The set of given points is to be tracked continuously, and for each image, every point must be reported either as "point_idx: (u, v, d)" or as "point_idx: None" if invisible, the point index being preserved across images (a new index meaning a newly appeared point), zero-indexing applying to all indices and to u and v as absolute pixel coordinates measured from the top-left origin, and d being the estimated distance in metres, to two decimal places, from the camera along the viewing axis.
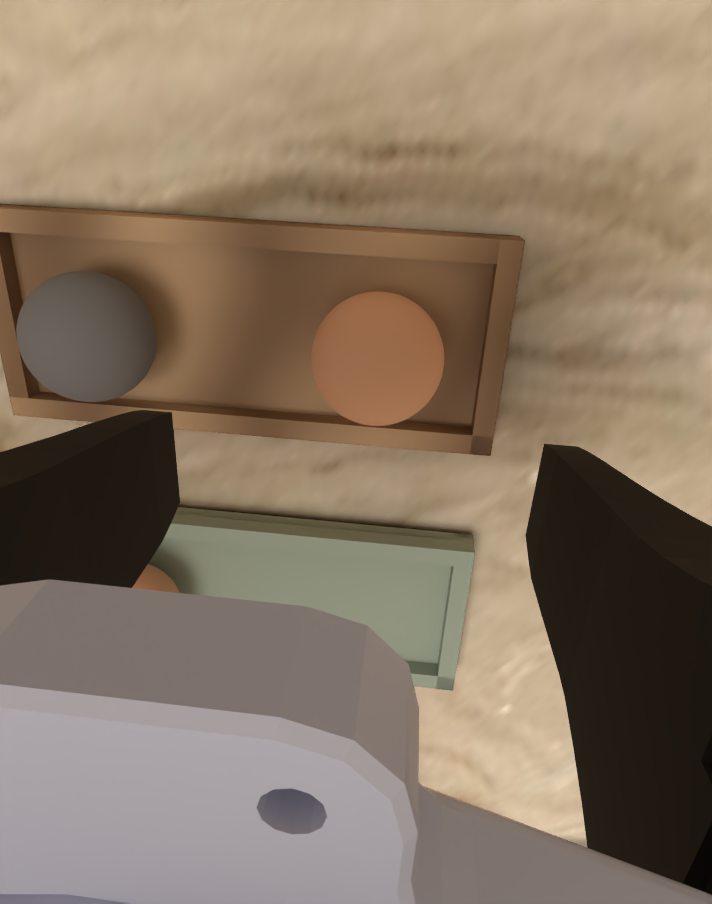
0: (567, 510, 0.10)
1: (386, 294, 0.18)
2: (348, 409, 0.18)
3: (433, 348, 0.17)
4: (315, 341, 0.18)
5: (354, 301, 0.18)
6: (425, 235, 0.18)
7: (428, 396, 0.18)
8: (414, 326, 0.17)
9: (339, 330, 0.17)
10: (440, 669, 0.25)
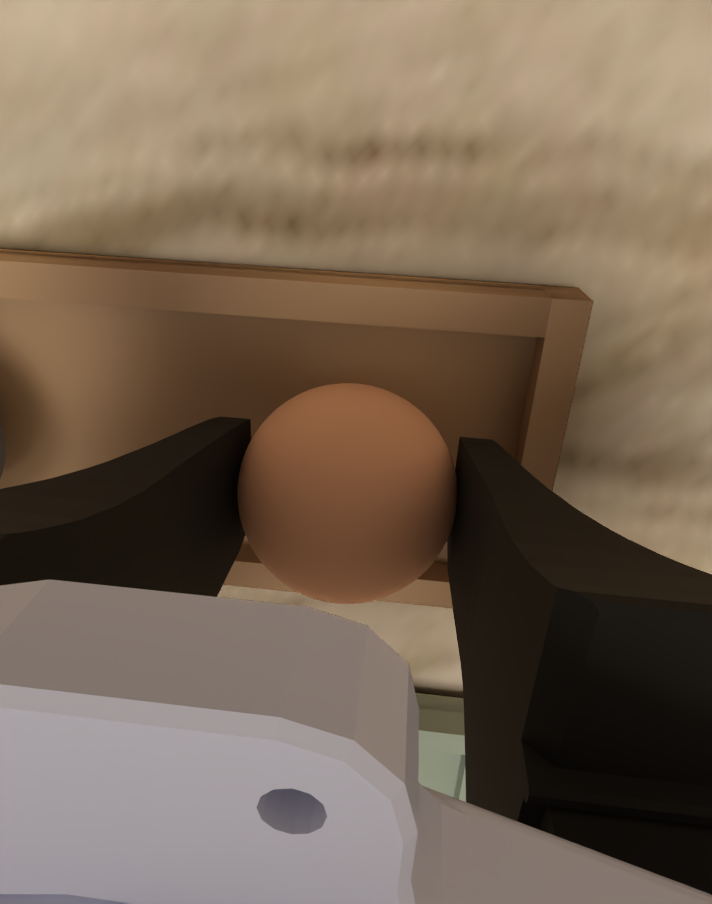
0: (468, 501, 0.10)
1: (360, 393, 0.10)
2: (296, 587, 0.11)
3: (440, 489, 0.10)
4: (242, 469, 0.11)
5: (306, 406, 0.10)
6: (426, 290, 0.11)
7: (431, 562, 0.11)
8: (406, 455, 0.10)
9: (277, 461, 0.10)
10: None
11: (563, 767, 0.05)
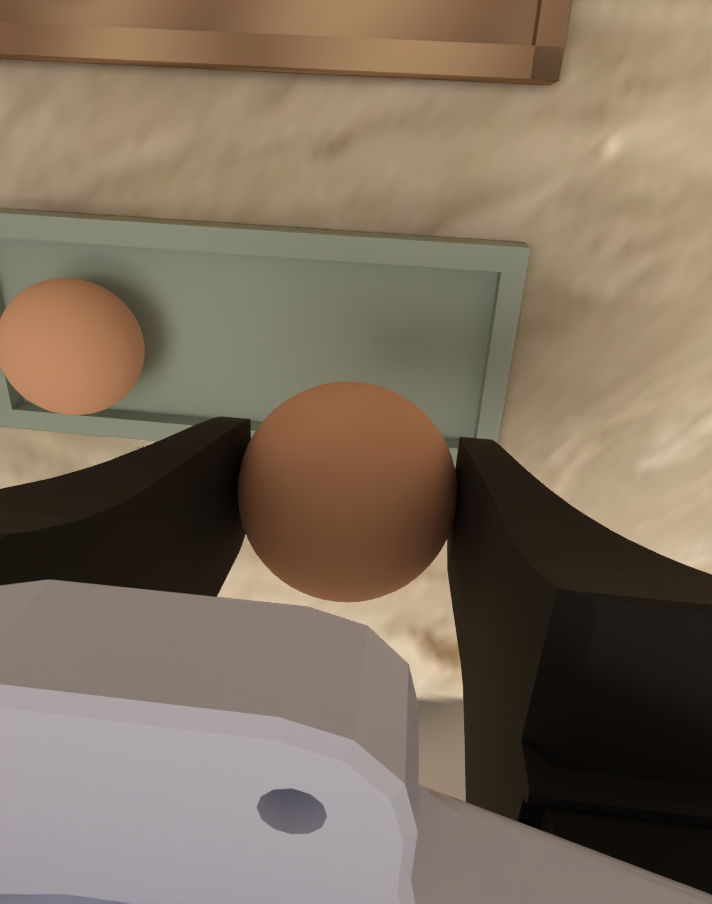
0: (468, 501, 0.10)
1: (359, 392, 0.10)
2: (295, 585, 0.11)
3: (439, 487, 0.10)
4: (242, 467, 0.11)
5: (305, 405, 0.10)
6: None
7: (431, 561, 0.11)
8: (405, 453, 0.10)
9: (276, 460, 0.10)
10: None
11: (563, 767, 0.05)
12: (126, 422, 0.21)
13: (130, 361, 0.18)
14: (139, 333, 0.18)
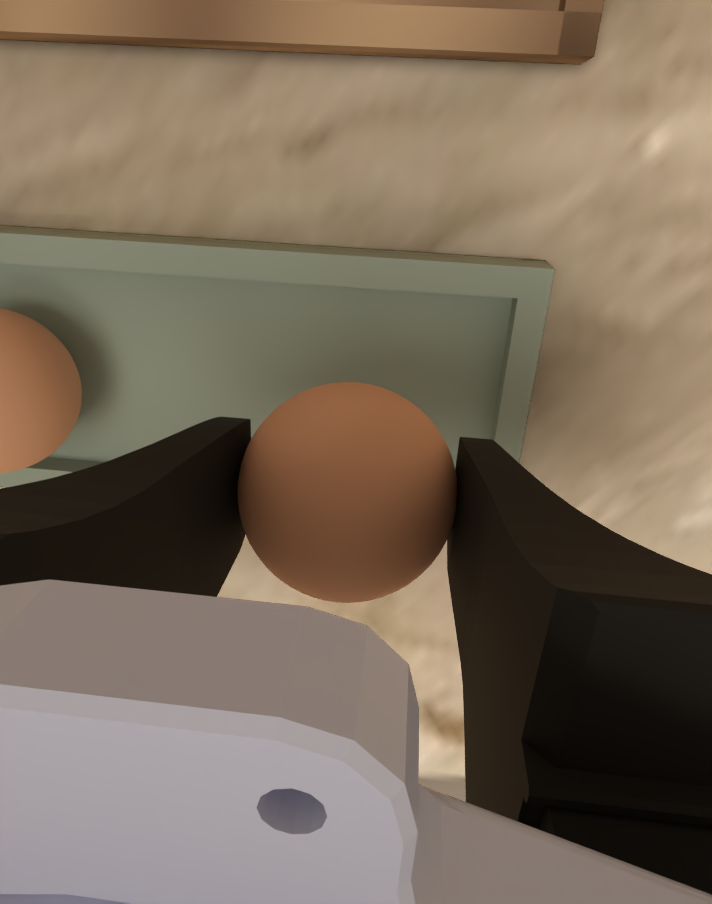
0: (468, 501, 0.10)
1: (360, 392, 0.10)
2: (294, 586, 0.11)
3: (440, 488, 0.10)
4: (242, 468, 0.11)
5: (305, 405, 0.10)
6: None
7: (431, 561, 0.11)
8: (405, 454, 0.10)
9: (276, 460, 0.10)
10: None
11: (563, 767, 0.05)
12: None
13: (59, 409, 0.14)
14: (72, 373, 0.15)
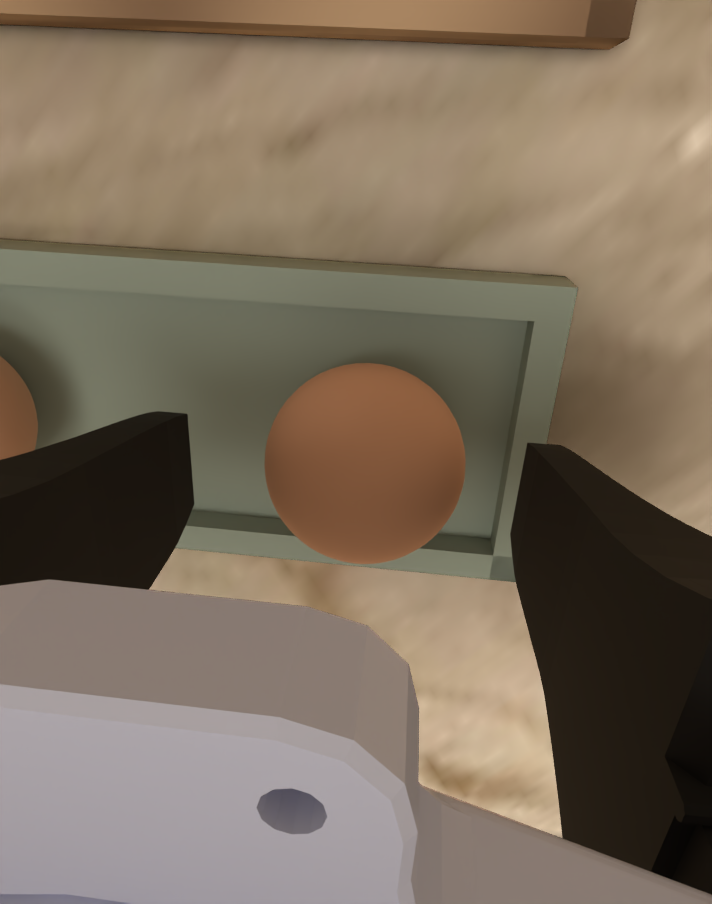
0: (547, 509, 0.10)
1: (378, 371, 0.11)
2: (328, 550, 0.12)
3: (455, 452, 0.11)
4: (271, 446, 0.12)
5: (331, 384, 0.11)
6: None
7: (447, 520, 0.12)
8: (427, 423, 0.11)
9: (311, 435, 0.11)
10: (498, 542, 0.14)
11: None
12: None
13: (7, 447, 0.13)
14: (24, 404, 0.13)
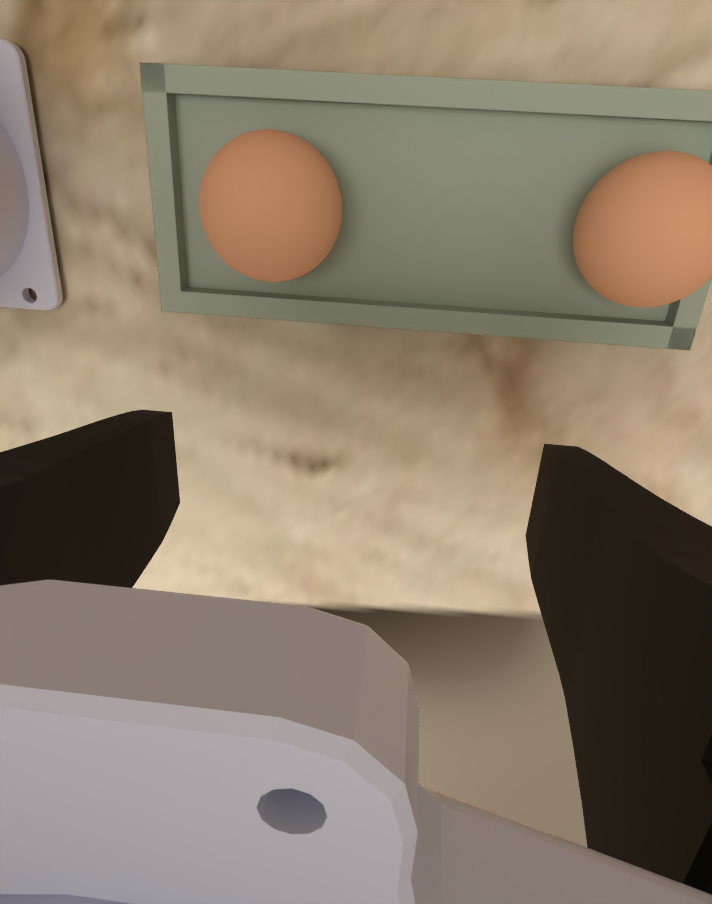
0: (566, 511, 0.10)
1: (676, 152, 0.16)
2: (683, 284, 0.16)
3: None
4: (640, 212, 0.15)
5: (671, 159, 0.15)
6: None
7: None
8: None
9: (690, 189, 0.15)
10: (678, 314, 0.19)
11: None
12: (302, 303, 0.20)
13: (337, 219, 0.17)
14: (340, 194, 0.18)
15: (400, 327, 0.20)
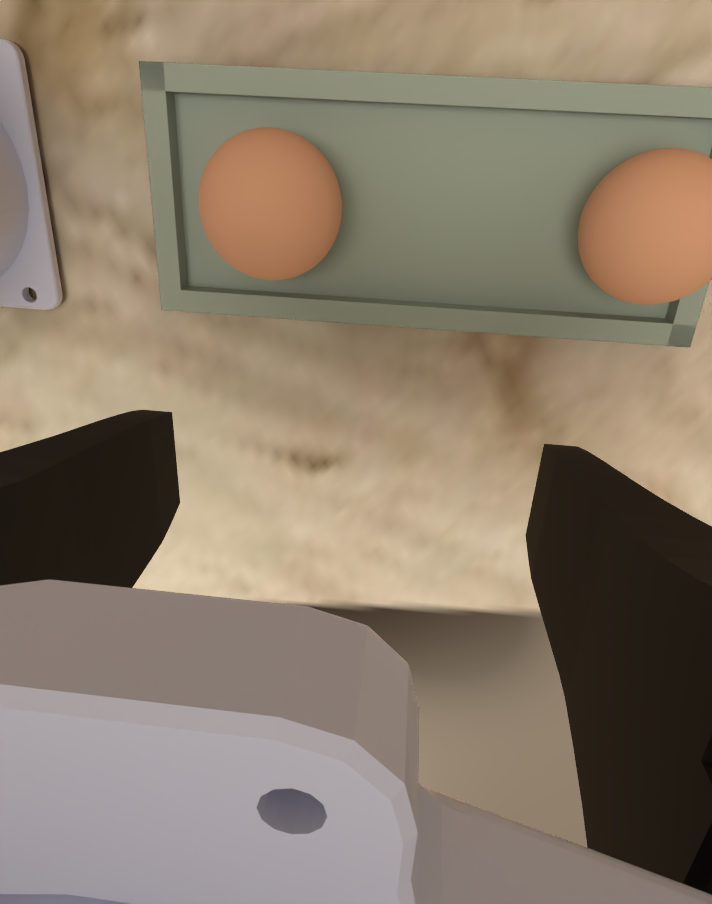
0: (566, 510, 0.10)
1: (681, 149, 0.16)
2: (692, 282, 0.16)
3: None
4: (651, 210, 0.15)
5: (679, 156, 0.15)
6: None
7: None
8: None
9: (700, 187, 0.15)
10: (678, 311, 0.19)
11: None
12: (302, 302, 0.20)
13: (337, 217, 0.17)
14: (340, 192, 0.18)
15: (400, 325, 0.20)
